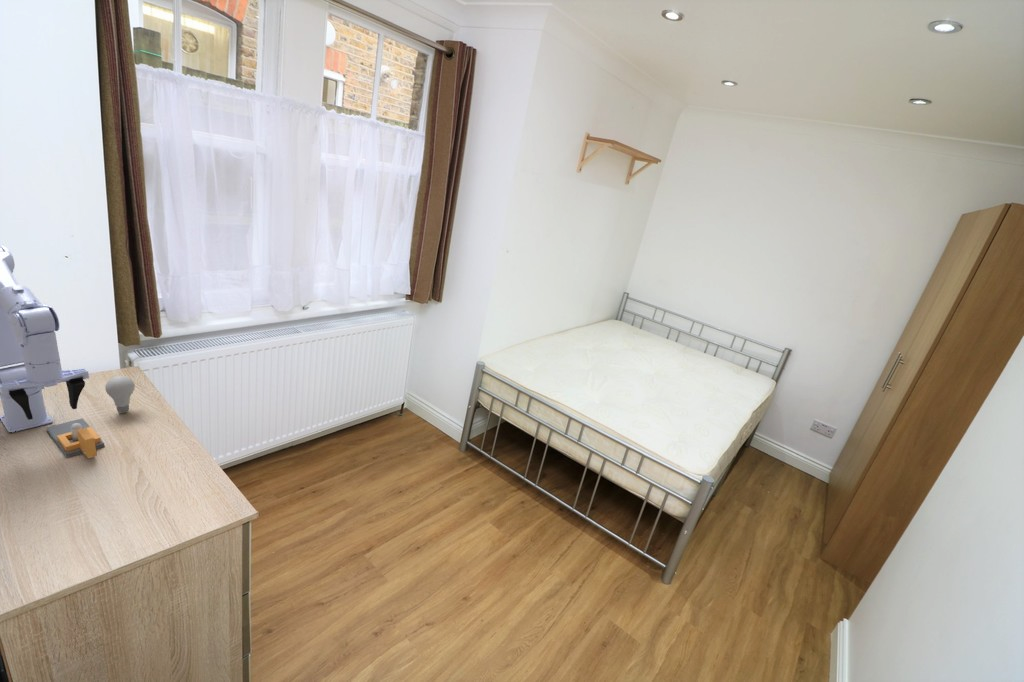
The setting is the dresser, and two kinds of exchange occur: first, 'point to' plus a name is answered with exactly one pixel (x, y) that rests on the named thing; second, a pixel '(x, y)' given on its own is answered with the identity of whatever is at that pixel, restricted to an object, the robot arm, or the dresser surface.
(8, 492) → the dresser surface
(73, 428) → the keeper board
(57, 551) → the dresser surface
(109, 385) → the lightbulb
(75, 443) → the orange loop handle block
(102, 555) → the dresser surface
